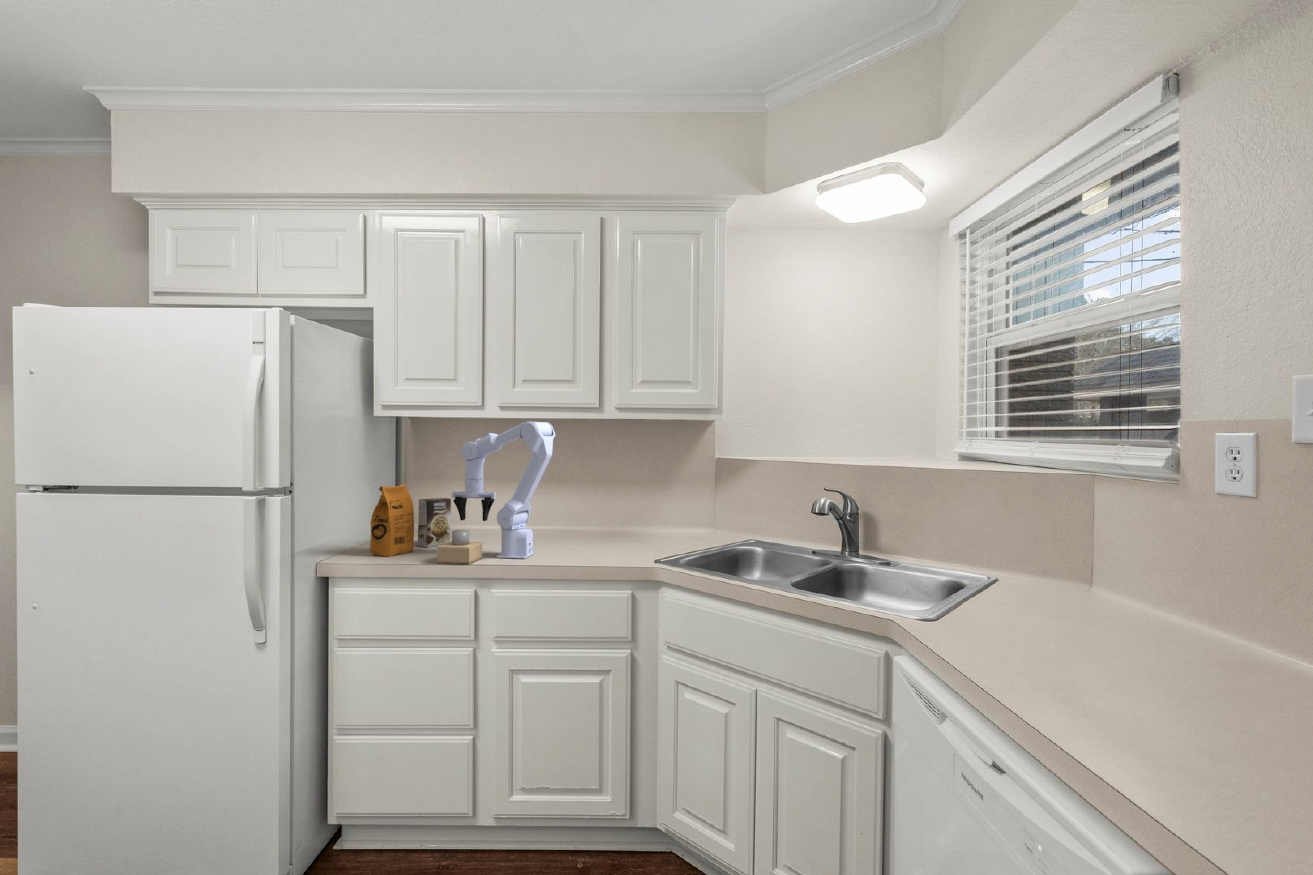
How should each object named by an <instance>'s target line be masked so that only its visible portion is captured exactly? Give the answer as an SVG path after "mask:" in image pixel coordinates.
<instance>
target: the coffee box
mask: <svg viewBox="0 0 1313 875" xmlns="http://www.w3.org/2000/svg"><path fill="white" fill-rule="evenodd" d="M451 508H452V499H451V498H448V497H436V498H433V497H432V498H422V499H418V512H417V513H418V515H417V516H418V517H417V523H418V524H417V546H419V547H424V548H434V547H437V546H439V545H442V544H445V543H447V542H450V541H451V527H452V526H451V522H452V521H451V517H452V513H451V512H452V511H451V510H452V509H451Z"/></svg>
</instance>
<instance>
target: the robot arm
mask: <svg viewBox="0 0 1313 875" xmlns="http://www.w3.org/2000/svg"><path fill="white" fill-rule="evenodd" d="M555 437H556V433H555V430H554V427H553V425H552V424H551V423H550V422H547V421H543V422H542V421H532V420H527V421H525V422H521V423H519V424H518V425H516V426H514V427H512V428H510V429H508V430H506V431H504V432H502V433H500V434H497V433H492V432H489V433H486V436H484V437H481V438H476V439H475V441H474V442H472V441H467V442H465V443H464V444H463V446H462V447H461V455H462V456H461V457H463V459H464V462H465V463H464V464H465V465H464V466H465V467H464V470H465V471H464V491H452V492H451V498H452V499H453V504H454V505H455V507H456V509H457V512H458V515H459V519H460V521H466V517H467V516H466V507H467V502H468V501H467V500H468V499H481V507H482V521H483V522H486V521H488V519H489V514H490V511H491V508H492V506H493V504H494V502H495V500H496V499H497V492H495V491H493V492H492V491H491V492H490V491H484V464H485V459H486V458H487V456H489V455H491V454H494V453H496V452H498V451H500V450H501V449H503V447H504V446H503V445H506V444H508V443H511V442H513V441H516V440H519V439H523V441H524V442H525V443H526V444H527V447H528V448H529V449H530V451H531V453H532V456H531V458H530V460H529V462H528V463H527V466H526V469H524V473H523V475H522V477H521V479H520V480H519V483H518V484H517V488H516V490H515V492H514V493H513V495H512V497H511V498H510V499H509V500H507V502H505V503H504V505H503V507H502V508H501V509H500V510H498V512H497V515H496V523H497V524H498V526H499V527H500V530H501V550H500V551H501V553H500V554H498V555H496V558H497V559H498V558H499V559H501V558H502V559H503V558H504V559H507V558H508V559H527V558H529V557H530V556H532V555H534V533H533V530H532V529H531V528H526V527H527V523H528V522H529V520H530V517H531V516H530V513H531V510H532V506H531V504H530V502H531V500H532V498H533V495H534V493H535V492H536V489H537V487H538V485H539V483H540V481H541V479H542V478H543V475H544V473H545V471H546V469H547V467H548V465H549V462H550V460H551V459H552V456H553V448H554V447H553V445H554V438H555Z"/></svg>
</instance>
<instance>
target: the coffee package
mask: <svg viewBox="0 0 1313 875" xmlns="http://www.w3.org/2000/svg"><path fill="white" fill-rule="evenodd" d="M378 490H379V492H380V493H381V495H380V496H379V500H378V503H377V504H376V505H375V507H374V510H373V512H372V514H371V520H370V545H369V546H370V548H369V551H370V553H371V555H372V556H378V557H384V558H387V557H388V558H389V557H390V556H391V557H394V556H396V555H404V554H407V553H410V552H412V551H414V546H415V543H414V542H415V541H414V540H415V509H414V503H413V500H412V497H411V495H410V493H409V489H408V488H407V484H405V483H403V484H400V485H398V486H387V485H386V486H385V485H384V486H383V485H381V486H379V488H378Z"/></svg>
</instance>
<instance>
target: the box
mask: <svg viewBox="0 0 1313 875" xmlns="http://www.w3.org/2000/svg"><path fill="white" fill-rule="evenodd" d="M436 549H437V548H436ZM436 551H437V552H436V554H437V555H436V560H437V561H436V564H439V565H440V564H441V565H465V566H466V565H467V566H469V565H472V564H474V563H476V562H478V561H480V560H482V559H483V543H482V544H481V545H479V546H477V547H474V548H472V549H470V550H465V549H437V550H436Z"/></svg>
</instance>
